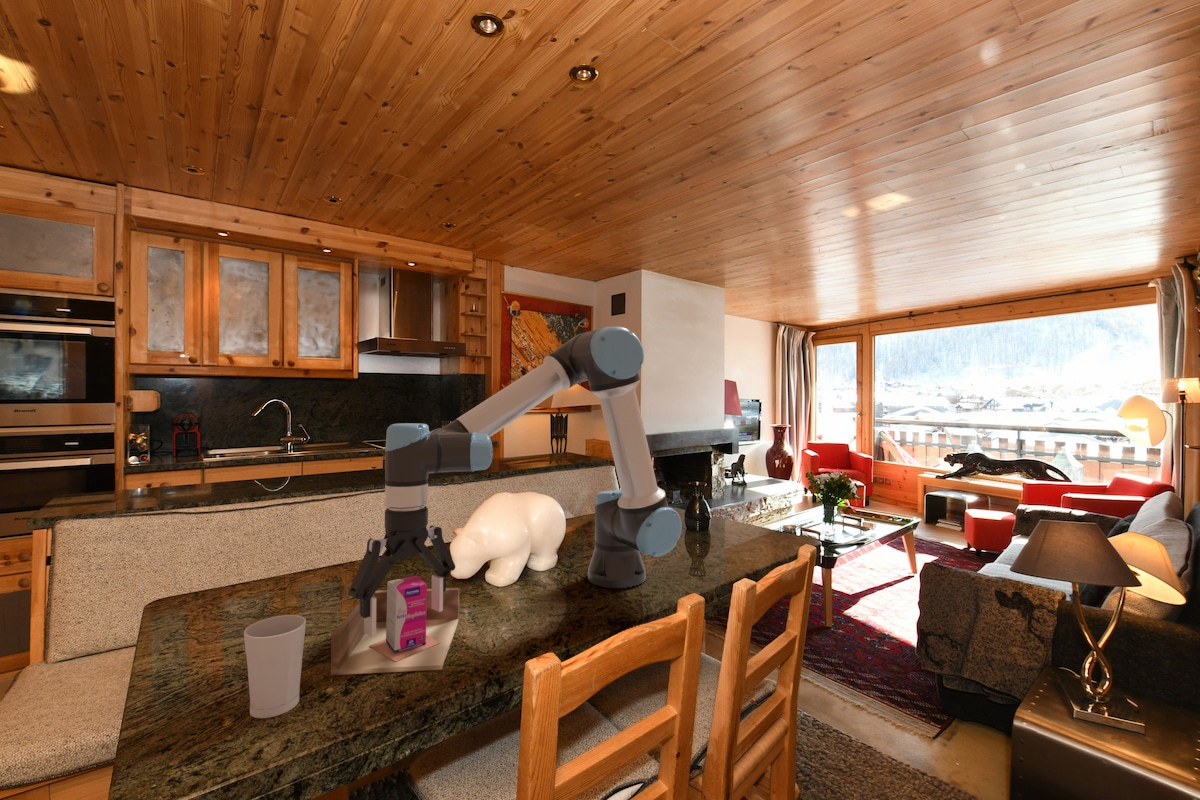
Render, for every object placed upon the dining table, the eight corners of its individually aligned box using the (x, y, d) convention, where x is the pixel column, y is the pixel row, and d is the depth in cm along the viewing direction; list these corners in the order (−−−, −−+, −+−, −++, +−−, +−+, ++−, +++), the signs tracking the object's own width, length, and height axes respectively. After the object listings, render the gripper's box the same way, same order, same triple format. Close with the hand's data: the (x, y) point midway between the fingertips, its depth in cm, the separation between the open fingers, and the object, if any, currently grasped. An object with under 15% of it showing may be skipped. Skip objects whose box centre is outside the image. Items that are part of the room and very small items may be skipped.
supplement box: (394, 654, 91) (395, 590, 91) (385, 641, 96) (386, 580, 96) (427, 645, 95) (427, 583, 95) (416, 633, 100) (417, 574, 100)
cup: (228, 718, 74) (229, 635, 74) (272, 688, 82) (273, 613, 82) (277, 724, 73) (278, 640, 73) (317, 693, 81) (318, 616, 81)
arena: (459, 620, 108) (459, 587, 108) (441, 669, 88) (441, 630, 88) (369, 623, 106) (369, 590, 106) (330, 675, 86) (331, 634, 86)
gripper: (451, 494, 108) (449, 596, 107) (328, 515, 88) (326, 639, 88) (473, 499, 103) (472, 605, 103) (349, 521, 83) (347, 652, 83)
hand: (405, 621), depth 95 cm, fingers open, 13 cm apart
